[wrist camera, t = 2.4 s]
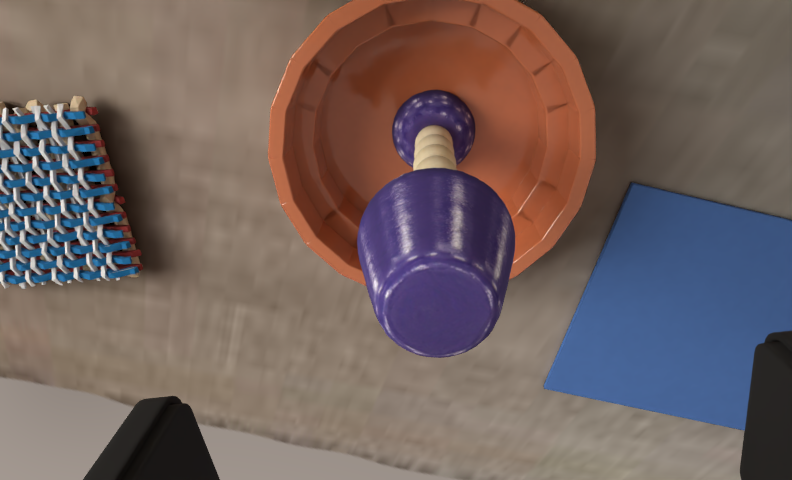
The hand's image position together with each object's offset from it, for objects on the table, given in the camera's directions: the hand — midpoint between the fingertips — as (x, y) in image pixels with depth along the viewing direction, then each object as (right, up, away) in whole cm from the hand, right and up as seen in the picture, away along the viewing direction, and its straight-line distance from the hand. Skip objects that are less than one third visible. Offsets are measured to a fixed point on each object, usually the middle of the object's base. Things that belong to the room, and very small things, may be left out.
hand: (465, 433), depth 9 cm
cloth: (+19, -2, +23) cm, 30 cm away
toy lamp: (+1, +9, +19) cm, 21 cm away
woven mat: (-21, +6, +21) cm, 31 cm away
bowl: (+1, +9, +19) cm, 21 cm away
